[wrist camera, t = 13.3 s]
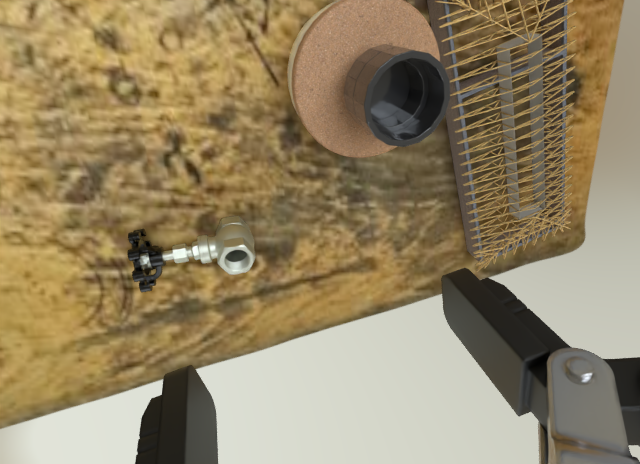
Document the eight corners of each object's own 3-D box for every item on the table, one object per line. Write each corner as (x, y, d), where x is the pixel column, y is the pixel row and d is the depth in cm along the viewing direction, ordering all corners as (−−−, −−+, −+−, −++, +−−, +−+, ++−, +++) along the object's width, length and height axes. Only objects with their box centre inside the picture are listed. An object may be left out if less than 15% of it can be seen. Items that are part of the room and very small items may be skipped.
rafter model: (415, -12, 38) (449, -15, 33) (550, -70, 38) (603, -81, 33) (462, 258, 57) (488, 283, 52) (551, 217, 57) (586, 238, 52)
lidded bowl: (420, 50, 41) (483, 64, 32) (348, 151, 44) (386, 191, 35) (324, -39, 35) (369, -54, 26) (250, 86, 38) (266, 113, 29)
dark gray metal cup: (349, 137, 32) (372, 157, 28) (334, 56, 28) (357, 66, 24) (419, 115, 32) (451, 131, 28) (412, 34, 29) (448, 39, 25)
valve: (246, 200, 44) (132, 218, 42) (253, 228, 39) (122, 251, 36) (254, 249, 48) (149, 268, 45) (261, 282, 42) (142, 305, 40)
